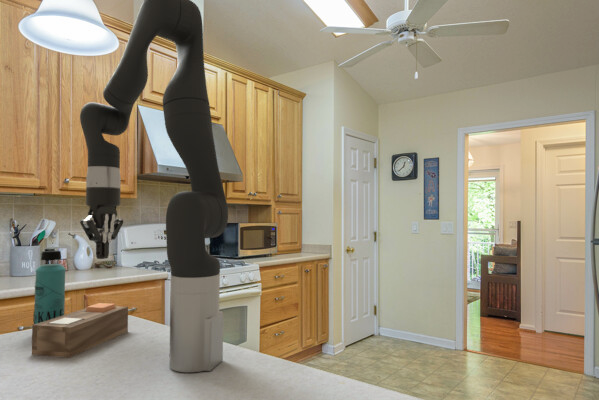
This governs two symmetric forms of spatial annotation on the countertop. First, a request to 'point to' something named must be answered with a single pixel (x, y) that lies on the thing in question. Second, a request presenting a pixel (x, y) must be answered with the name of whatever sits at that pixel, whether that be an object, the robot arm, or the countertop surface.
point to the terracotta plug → (101, 307)
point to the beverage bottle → (49, 289)
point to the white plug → (65, 321)
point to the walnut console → (78, 332)
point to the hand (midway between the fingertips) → (102, 258)
